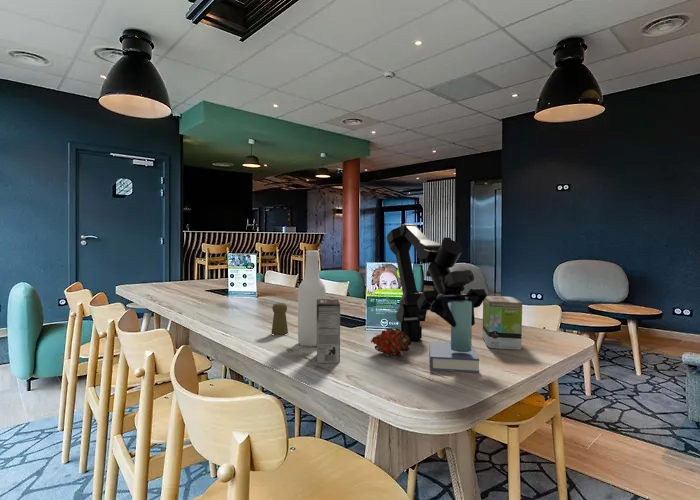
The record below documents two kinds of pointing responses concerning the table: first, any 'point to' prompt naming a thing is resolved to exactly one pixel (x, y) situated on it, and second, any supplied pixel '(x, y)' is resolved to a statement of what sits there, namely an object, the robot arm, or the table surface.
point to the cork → (279, 319)
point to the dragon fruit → (392, 342)
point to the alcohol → (309, 300)
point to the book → (452, 358)
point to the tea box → (502, 322)
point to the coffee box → (328, 331)
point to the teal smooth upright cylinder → (461, 326)
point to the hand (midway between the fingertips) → (464, 325)
